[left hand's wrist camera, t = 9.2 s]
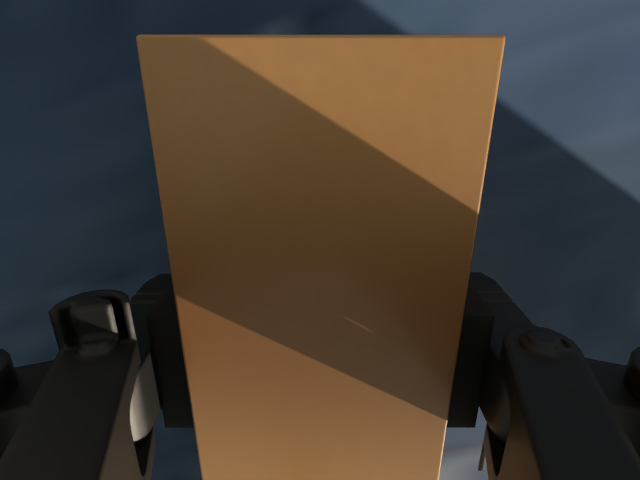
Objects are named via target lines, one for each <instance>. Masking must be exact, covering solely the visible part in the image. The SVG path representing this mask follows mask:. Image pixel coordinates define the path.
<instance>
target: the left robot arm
mask: <svg viewBox="0 0 640 480" xmlns="http://www.w3.org/2000/svg"><path fill="white" fill-rule="evenodd" d="M49 315H50V319H51V322H52V326H53V330H54V333H55V337H56V340H57V344H58V347H59V352H58V354H57V356H56V358H55V360H52V361H47V362H42V363H37V364H31V365H26V366H21V367H16V368H14V366H13V363H12V360H11V357H10V354H9V353H8V352H6V351H5V350H4V349H0V480H151V479H152V471H153V464H154V457H155V450H156V436H155V430H154V425H153V424H154V422H155V420H156V418H157V416H158V414H159V412H160V410H161V408H162V410H163V416H164V421H165V427H194V423H193V417H192V410H191V403H190V397H189V390H188V383H187V376H186V370H185V363H184V356H183V350H182V343H181V336H180V329H179V323H178V316H177V309H176V303H175V296H174V289H173V282H172V276H171V274H160V275H158V276H156V277H154V278H153V279H151V280H149V281H147V282H146V283H145V284H144V285H143V286H142V287H141V288H140V289H139V291H138V292H137V293H136V295H134V296H133V298H132V299H131V300H130V301H129V297H128V295H126V294H125V293H123V292H121V291H116V290H96V291H90V292H85V293H81V294H78V295H75V296H72V297H69V298H67V299H65V300H64V301H62V302H60V303H58V304H56V305H55V306H54V307H53V308H52V309H51V310H50V311H49ZM478 407H480V409H481V411H482V413H483V415H484V417H485V419H486V421H487V425H486V430H485V435H484V441H483V446H482V451H481V456H480V461H479V468H478V470H479V471H484V469H485V464H486V463H487V470H488V478H489V480H640V347H638V348H637V349H635V350H634V351H632V353H631V356H630V359H629V362H628V365H627V366H624V365H619V364H614V363H609V362H603V361H598V360H593V359H589V358H585V357H584V355H583V353H582V351H581V350H580V349H579V348H578V346H577V345H576V344H575V343H574V342H573V341H572V340H570V339H568V338H567V337H565V336H564V335H562V334H560V333H557V332H555V331H552V330H550V329H547V328H542V327H538V326H534V325H533V324H532V323H531V322H530V320H529V319H528V318H527V317H526V316H525V315H524V313H523V312H522V311H521V310H520V309H519V308H518V307H517V305H516V304H515V303H514V302H512V300H511V299H510V297H509V296H508V295H507V294H505V293H504V291H503V289H502V288H501V287H500V286H499V285H498V284H497V282H496V281H494V280H492V279H491V278H489V277H487V276H485V275H484V274H482V273H470V275H469V281H468V288H467V295H466V301H465V308H464V314H463V321H462V328H461V334H460V341H459V347H458V354H457V360H456V367H455V374H454V380H453V387H452V393H451V400H450V407H449V413H448V420H447V426H446V427H475V424H476V418H477V413H478Z"/></svg>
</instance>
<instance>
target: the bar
mask: <svg viewBox="0 0 640 480" xmlns="http://www.w3.org/2000/svg"><path fill="white" fill-rule="evenodd" d="M136 41H137V47H138V54H139V61H140V68H141V74H142V81H143V88H144V94H145V101H146V108H147V115H148V121H149V128H150V135H151V141H152V148H153V155H154V162H155V168H156V175H157V182H158V188H159V195H160V202H161V209H162V215H163V222H164V229H165V235H166V242H167V249H168V256H169V262H170V269H171V276H172V282H173V289H174V296H175V303H176V309H177V316H178V323H179V329H180V336H181V343H182V350H183V356H184V363H185V370H186V376H187V383H188V390H189V397H190V403H191V410H192V417H193V423H194V430H195V437H196V444H197V450H198V457H199V464H200V470H201V477H202V480H438V479H439V472H440V466H441V459H442V453H443V446H444V439H445V433H446V426H447V420H448V413H449V407H450V400H451V393H452V387H453V380H454V374H455V367H456V360H457V354H458V347H459V341H460V334H461V328H462V321H463V314H464V308H465V301H466V295H467V288H468V281H469V275H470V268H471V262H472V255H473V249H474V242H475V235H476V229H477V222H478V216H479V209H480V202H481V196H482V189H483V183H484V176H485V170H486V163H487V156H488V150H489V143H490V137H491V130H492V123H493V117H494V110H495V104H496V97H497V91H498V84H499V77H500V71H501V64H502V58H503V51H504V44H505V36H503V35H138V36H137V37H136Z"/></svg>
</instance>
